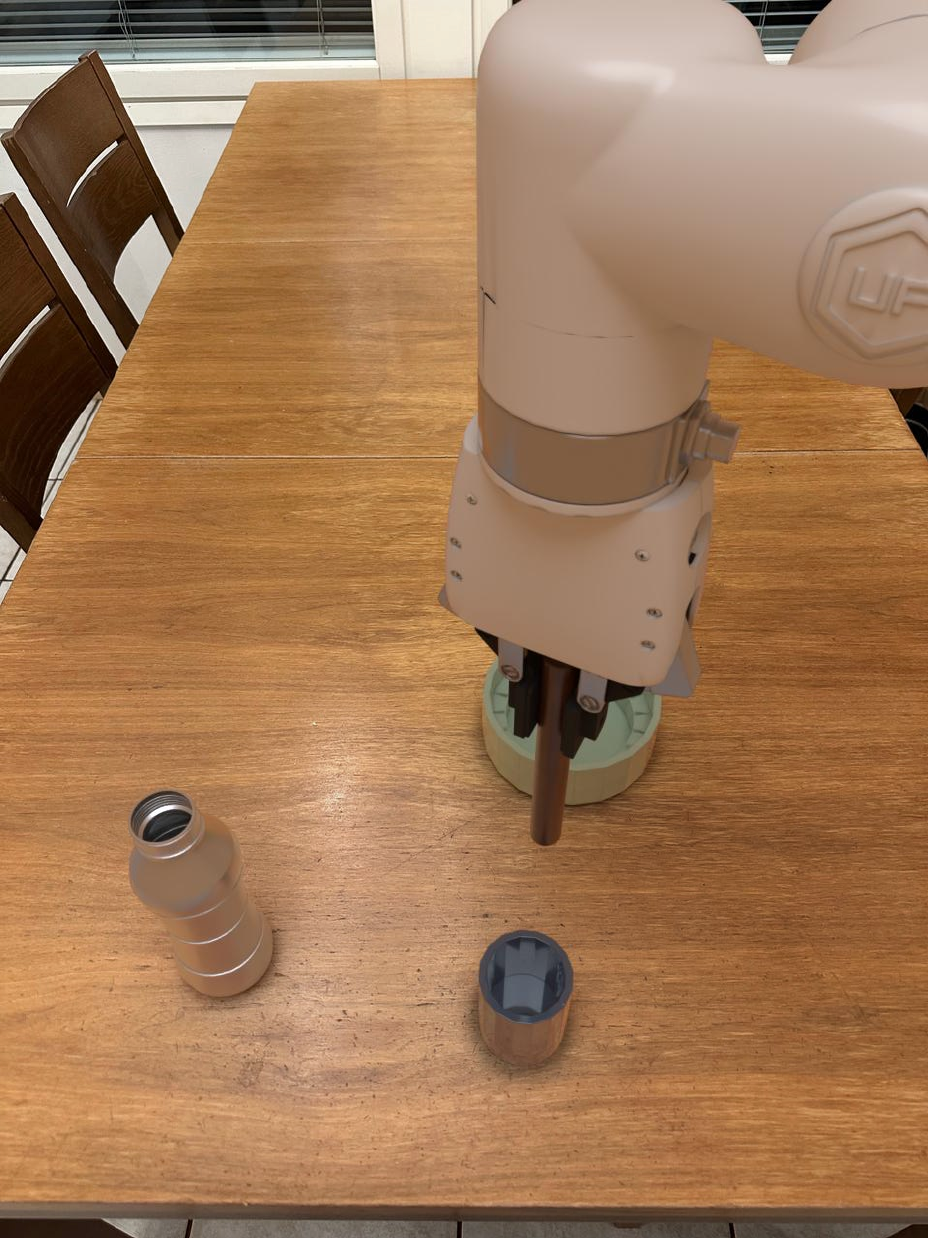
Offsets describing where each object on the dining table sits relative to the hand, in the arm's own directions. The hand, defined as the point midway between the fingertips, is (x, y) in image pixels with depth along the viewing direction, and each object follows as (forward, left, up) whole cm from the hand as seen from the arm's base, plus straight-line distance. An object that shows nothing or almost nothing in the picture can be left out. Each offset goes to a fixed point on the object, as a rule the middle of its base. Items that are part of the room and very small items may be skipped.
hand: (555, 724), depth 46 cm
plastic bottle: (+19, +10, -28) cm, 35 cm away
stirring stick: (0, 0, -11) cm, 11 cm away
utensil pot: (-1, +4, -28) cm, 28 cm away
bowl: (+6, -19, -28) cm, 34 cm away
